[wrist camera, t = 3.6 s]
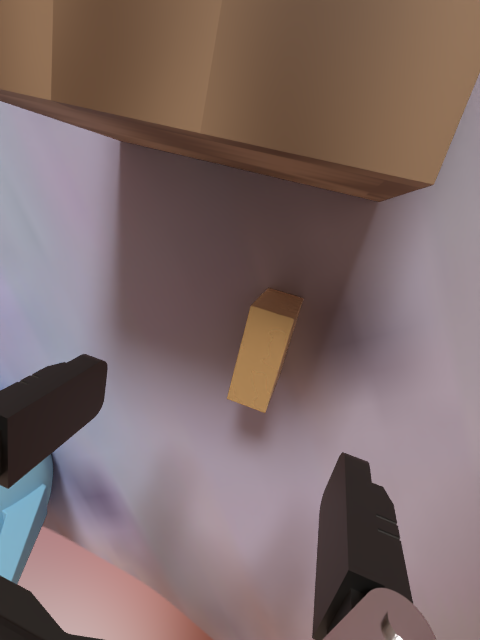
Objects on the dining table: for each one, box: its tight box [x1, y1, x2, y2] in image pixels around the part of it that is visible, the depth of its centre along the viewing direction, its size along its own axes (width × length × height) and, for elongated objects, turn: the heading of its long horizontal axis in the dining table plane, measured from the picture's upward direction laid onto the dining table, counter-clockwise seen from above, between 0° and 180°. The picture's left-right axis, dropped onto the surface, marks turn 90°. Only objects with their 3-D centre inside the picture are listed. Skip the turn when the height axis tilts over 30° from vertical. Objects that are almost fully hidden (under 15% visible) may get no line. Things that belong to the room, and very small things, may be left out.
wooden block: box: [227, 288, 304, 413], centre depth 17 cm, size 2×5×4 cm, turn 166°
